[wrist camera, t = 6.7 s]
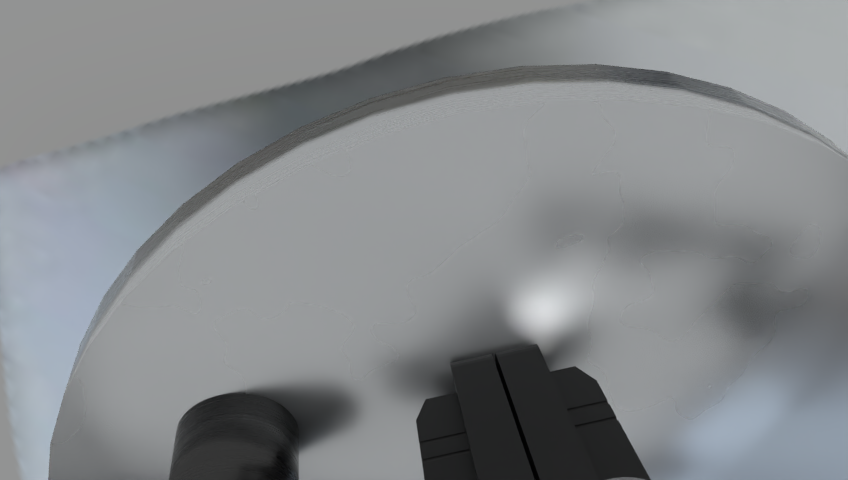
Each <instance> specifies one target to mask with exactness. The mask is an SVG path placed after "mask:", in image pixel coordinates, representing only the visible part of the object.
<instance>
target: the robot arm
mask: <svg viewBox="0 0 848 480" xmlns="http://www.w3.org/2000/svg"><path fill="white" fill-rule="evenodd" d="M495 361H496V364H495V362H494V359H493V356H492V354H489V355H485V356H480V357H476V358H471V359H467V360H462V361H458V362H453V363H450V366H451V371H452V376H453V381H454V385H455V390H456V393H452V394H447V395H443V396H438V397H433V398H429V399H425V402H424V404H423V406H422V408H421V410H420V413H419V415H418V417H417V419H416V424H417V431H418V438H419V444H420V452H421V459H422V466H423V472H424V479H425V480H651V479H650V477H649V476H648V474H647V472H646V470H645V468H644V466H643V465H642V463H641V461H640V459H639V457H638V455H637V454H636V452H635V450H634V448H633V446H632V444H631V443H630V441H629V439H628V437H627V435H626V433H625V432H624V430H623V428H622V426H621V424H620V422H619V421H617V418H616V415H615V413H614V411H613V410H612V408H611V406H610V404H608V401H607V399H606V397H605V395H604V393H603V391H602V389H601V387H600V386H599V384H598V382H597V380H595V379H594V378H592V377H591V376H589V375H588V374H586V373H585V372H583V371H582V370H580V369H579V368H577V367H576V366H573V367H569V368H564V369H560V370H555V371H551V372H550V370H549V368H548V366H547V364H546V362H545V359H544V357H543V355H542V353H541V351H540V348H539V346H538V345H537V344H534V345H530V346H525V347H521V348H516V349H511V350H507V351H502V352H498V353H495Z"/></svg>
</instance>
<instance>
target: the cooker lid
mask: <svg viewBox="0 0 848 480" xmlns="http://www.w3.org/2000/svg"><path fill="white" fill-rule="evenodd" d="M534 344H537V345H538V346H539V348H540V351H541V353H542V355H543V357H544V359H545V362H546V364H547V366H548V368H549V370H550V372H551V371H555V370H560V369H564V368H569V367H573V366H576V367H577V368H579V369H580V370H582V371H583V372H585V373H586V374H588V375H589V376H591V377H592V378H594V379H595V380H597V382H598V384H599V386H600V387H601V389H602V391H603V393H604V395H605V397H606V399H607V401H608V404H610V406H611V408H612V410H613V411H614V413H615V415H616V418H617V421H619V422H620V424H621V426H622V428H623V430H624V432H625V433H626V435H627V437H628V439H629V441H630V443H631V444H632V446H633V448H634V450H635V452H636V454H637V455H638V457H639V459H640V461H641V463H642V465H643V466H644V468H645V470H646V472H647V474H648V476H649V477H650V479H651V480H848V155H847V154H846V153H845V152H844V151H842V150H841V149H840V148H839V147H838V146H837V145H835V144H834V143H833V142H832V141H831V140H829V139H828V138H826V137H825V136H823V135H821V134H820V133H818V132H817V131H815V130H814V129H812V128H811V127H809V126H808V125H806V124H804V123H803V122H801V121H800V120H798V119H797V118H795V117H794V116H792V115H790V114H789V113H787V112H786V111H784V110H781V109H779V108H777V107H774V106H772V105H770V104H767V103H765V102H762V101H760V100H758V99H755V98H753V97H751V96H748V95H746V94H744V93H741V92H739V91H737V90H734V89H732V88H729V87H725V86H721V85H717V84H713V83H709V82H705V81H701V80H697V79H693V78H689V77H685V76H681V75H677V74H674V73H670V72H664V71H655V70H645V69H636V68H627V67H617V66H608V65H598V64H588V65H548V66H520V67H513V68H506V69H500V70H493V71H486V72H480V73H473V74H466V75H460V76H453V77H446V78H442V79H439V80H435V81H432V82H428V83H424V84H421V85H417V86H414V87H410V88H406V89H403V90H399V91H396V92H392V93H388V94H385V95H381V96H378V97H374V98H371V99H368V100H366V101H363V102H361V103H358V104H356V105H354V106H351V107H349V108H346V109H344V110H341V111H339V112H337V113H334V114H332V115H329V116H327V117H325V118H322V119H320V120H317V121H315V122H312V123H310V124H308V125H305V126H303V127H300V128H299V129H297V130H295V131H293V132H292V133H290V134H288V135H286V136H284V137H283V138H281V139H279V140H277V141H276V142H274V143H272V144H270V145H269V146H267V147H265V148H263V149H262V150H260V151H258V152H256V153H255V154H253V155H251V156H249V157H247V158H246V159H244V160H242V161H240V162H239V163H237V164H236V165H234V166H233V167H232V168H230V169H229V170H228V171H226V172H225V173H224V174H222V175H221V176H220V177H218V178H217V179H216V180H214V181H213V182H212V183H210V184H209V185H208V186H207V187H205V188H204V189H203V190H201V191H200V192H199V193H197V194H196V195H195V196H193V197H192V198H191V199H189V200H188V201H187V202H185V203H184V204H183V205H182V206H181V207H180V208H179V209H178V210H177V211H176V212H175V213H174V214H173V215H172V216H171V217H170V218H169V219H168V220H167V221H166V222H165V223H164V224H163V225H162V226H161V227H160V228H159V229H158V230H157V231H156V232H155V233H154V234H153V235H152V236H151V237H150V238H149V239H148V240H147V241H146V242H145V243H144V244H143V245H142V246H141V247H140V248H139V249H138V250H137V251H136V253H135V254H134V255H133V257H132V258H131V260H130V261H129V262H128V264H127V265H126V266H125V268H124V269H123V271H122V272H121V273H120V275H119V276H118V277H117V279H116V280H115V282H114V283H113V284H112V286H111V287H110V289H109V290H108V291H107V293H106V294H105V295H104V297H103V299H102V301H101V303H100V305H99V307H98V309H97V311H96V313H95V315H94V317H93V319H92V321H91V323H90V325H89V327H88V329H87V331H86V333H85V335H84V338H83V340H82V342H81V344H80V347H79V350H78V353H77V356H76V359H75V362H74V365H73V368H72V371H71V375H70V378H69V381H68V384H67V387H66V390H65V393H64V396H63V400H62V403H61V407H60V411H59V414H58V418H57V422H56V425H55V429H54V432H53V436H52V440H51V444H50V460H49V477H48V480H425V479H424V472H423V466H422V459H421V452H420V444H419V438H418V431H417V424H416V419H417V417H418V415H419V413H420V410H421V408H422V406H423V404H424V402H425V399H429V398H433V397H438V396H443V395H447V394H452V393H456V390H455V385H454V381H453V376H452V371H451V366H450V363H453V362H458V361H462V360H467V359H471V358H476V357H480V356H485V355H489V354H492V356H493V359H494V362H495V364H496V361H495V353H498V352H502V351H507V350H511V349H516V348H521V347H525V346H530V345H534Z"/></svg>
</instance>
